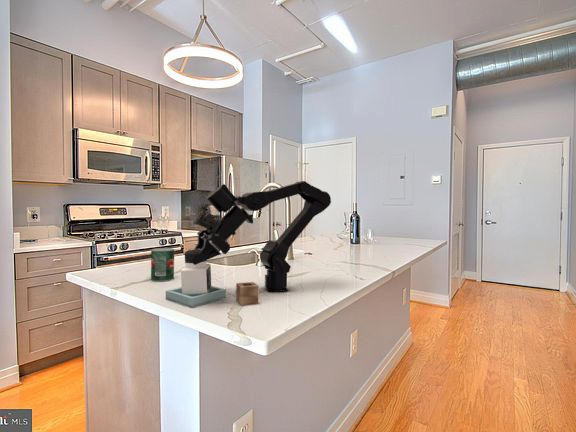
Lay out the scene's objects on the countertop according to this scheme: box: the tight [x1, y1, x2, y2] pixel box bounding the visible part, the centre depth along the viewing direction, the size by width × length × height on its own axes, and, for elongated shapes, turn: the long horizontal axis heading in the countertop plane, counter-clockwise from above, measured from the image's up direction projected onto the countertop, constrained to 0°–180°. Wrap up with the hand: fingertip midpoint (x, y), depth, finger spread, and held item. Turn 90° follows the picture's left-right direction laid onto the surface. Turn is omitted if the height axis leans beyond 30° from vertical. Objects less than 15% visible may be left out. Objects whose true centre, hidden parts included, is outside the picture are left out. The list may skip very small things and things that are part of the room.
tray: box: [165, 285, 227, 309], centre depth 90 cm, size 12×12×2 cm
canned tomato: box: [150, 247, 175, 283], centre depth 113 cm, size 8×8×11 cm
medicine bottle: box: [180, 248, 212, 295], centre depth 90 cm, size 7×7×12 cm
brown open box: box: [235, 281, 259, 306], centre depth 88 cm, size 5×5×5 cm
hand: (191, 261), depth 89 cm, fingers closed on medicine bottle, 6 cm apart
